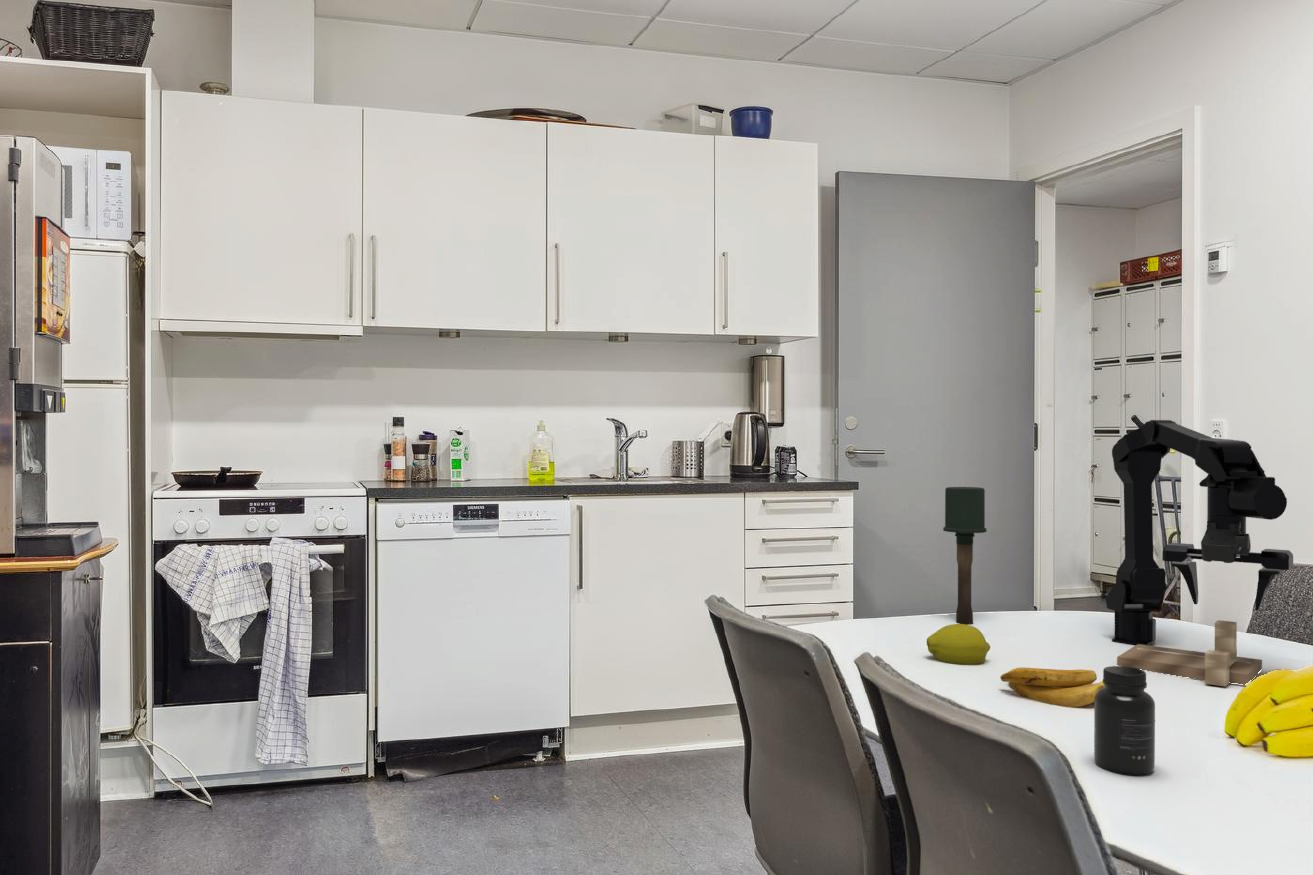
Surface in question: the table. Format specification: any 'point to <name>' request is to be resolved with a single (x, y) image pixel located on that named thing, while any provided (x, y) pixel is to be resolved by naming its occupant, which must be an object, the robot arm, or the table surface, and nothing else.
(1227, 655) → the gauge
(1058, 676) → the banana
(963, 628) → the lemon
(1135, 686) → the supplement bottle
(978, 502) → the potato masher grenade
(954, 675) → the table surface
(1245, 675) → the board
